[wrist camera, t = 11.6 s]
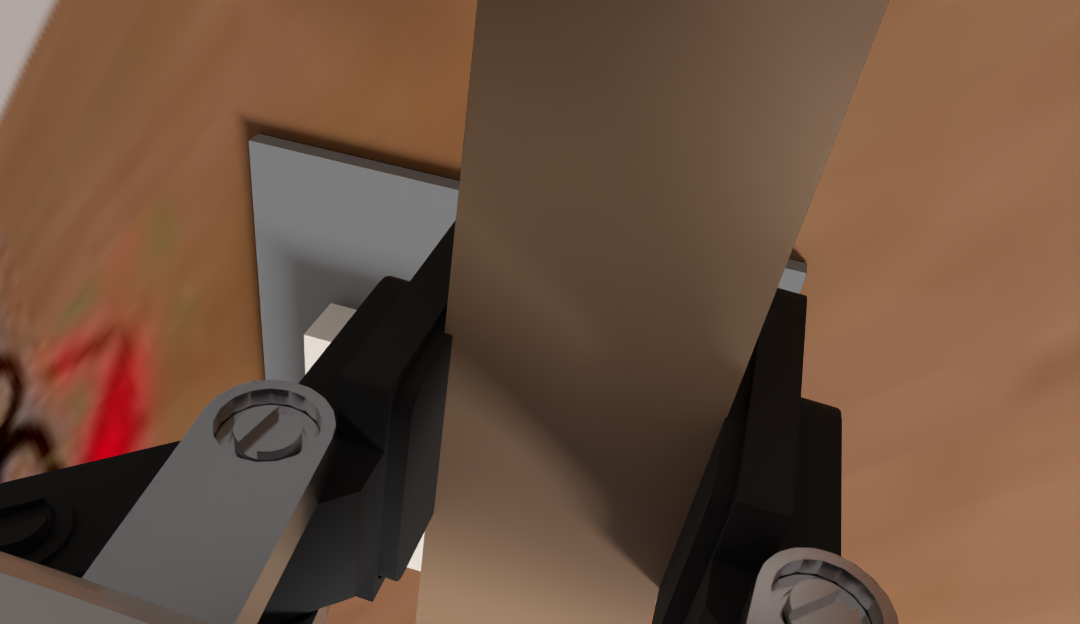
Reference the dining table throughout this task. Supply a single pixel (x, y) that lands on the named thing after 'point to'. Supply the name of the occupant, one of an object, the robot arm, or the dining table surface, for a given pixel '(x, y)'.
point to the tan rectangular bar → (615, 281)
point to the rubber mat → (344, 236)
